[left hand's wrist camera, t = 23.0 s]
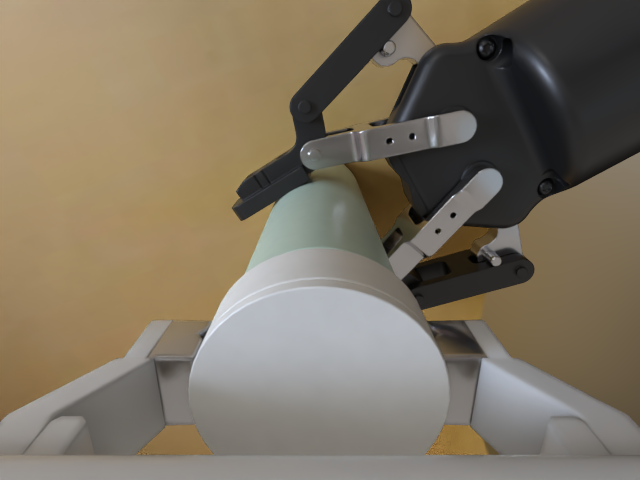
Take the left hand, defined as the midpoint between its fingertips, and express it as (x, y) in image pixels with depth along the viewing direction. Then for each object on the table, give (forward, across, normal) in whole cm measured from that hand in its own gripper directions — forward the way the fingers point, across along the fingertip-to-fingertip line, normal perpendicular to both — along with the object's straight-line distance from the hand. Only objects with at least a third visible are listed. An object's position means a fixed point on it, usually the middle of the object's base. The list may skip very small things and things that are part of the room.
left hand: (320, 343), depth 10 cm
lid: (-2, 0, 0) cm, 2 cm away
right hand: (+9, -2, -1) cm, 9 cm away
